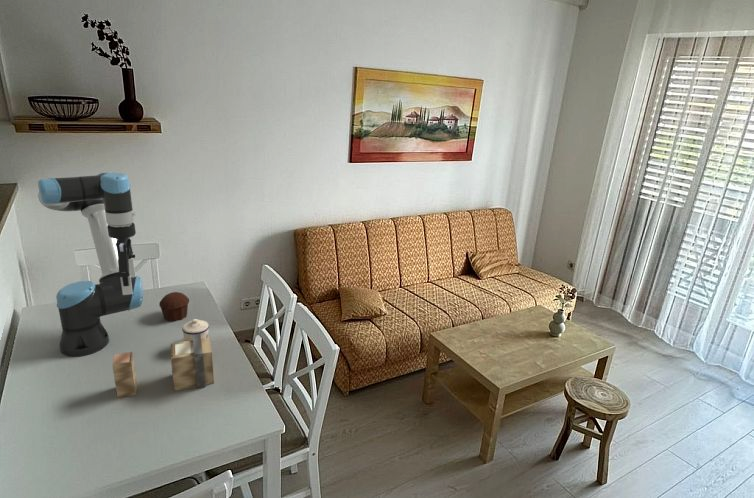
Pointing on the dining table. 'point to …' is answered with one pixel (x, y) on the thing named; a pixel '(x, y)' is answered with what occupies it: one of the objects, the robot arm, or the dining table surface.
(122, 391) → the pink-ended wooden block
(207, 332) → the teacup with lid
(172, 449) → the dining table surface
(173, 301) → the muffin
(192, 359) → the tan wooden crate
